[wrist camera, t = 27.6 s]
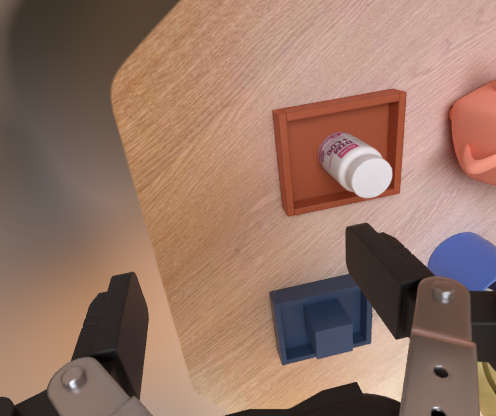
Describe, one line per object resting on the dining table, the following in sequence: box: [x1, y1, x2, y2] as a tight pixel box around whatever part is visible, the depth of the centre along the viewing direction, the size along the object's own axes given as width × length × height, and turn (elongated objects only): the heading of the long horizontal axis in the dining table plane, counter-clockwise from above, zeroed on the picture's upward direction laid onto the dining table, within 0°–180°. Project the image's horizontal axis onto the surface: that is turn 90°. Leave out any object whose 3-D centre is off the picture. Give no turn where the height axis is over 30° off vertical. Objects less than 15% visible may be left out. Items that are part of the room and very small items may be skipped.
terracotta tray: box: [272, 89, 406, 216], centre depth 39 cm, size 14×12×3 cm
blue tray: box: [270, 274, 372, 365], centre depth 50 cm, size 14×12×3 cm
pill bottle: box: [318, 132, 392, 198], centre depth 36 cm, size 5×5×8 cm
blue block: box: [303, 298, 353, 359], centre depth 48 cm, size 5×5×5 cm
